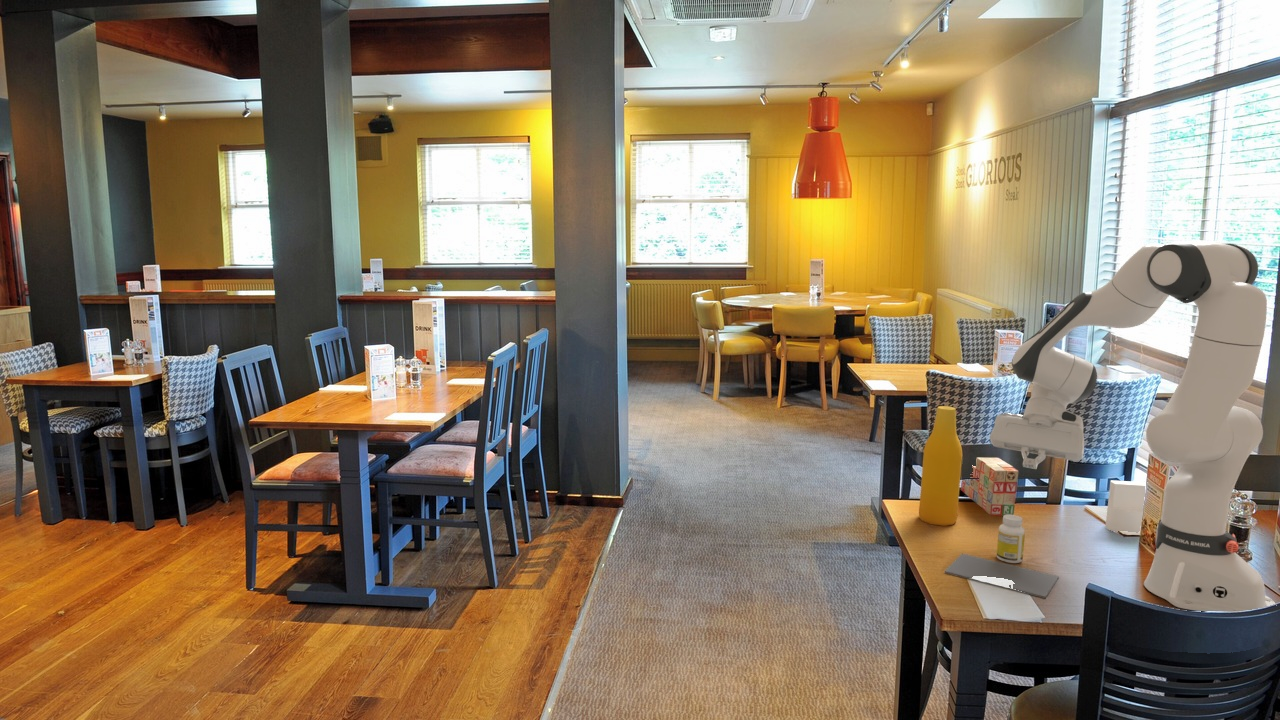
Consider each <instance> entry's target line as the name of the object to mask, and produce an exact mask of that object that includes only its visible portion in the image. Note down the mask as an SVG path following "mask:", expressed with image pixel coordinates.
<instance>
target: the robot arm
mask: <svg viewBox="0 0 1280 720" xmlns="http://www.w3.org/2000/svg"><path fill="white" fill-rule="evenodd" d="M1258 273H1259V264H1258V260H1257V258H1256V256H1255V255H1254V253H1252V252H1251V251H1250V250H1249V249H1247V248H1245V247H1243V246H1240V245H1237V244H1235V243H1222V242H1221V243H1220V242H1214V241H1209V240H1191V241H1186V240H1177V241H1172V242H1169V243H1166V244H1162V243H1149V244H1146V245H1144V246H1142V247H1141V248H1139V249H1138V250H1137V251H1136V252H1135V253H1133V254H1132V256H1130V257H1129V259H1127V261H1126V262H1125V263H1123V265H1122V266H1121V267H1120V268H1119V269H1118V271H1117V272H1116V273H1115V274H1114V275H1113V277H1112V278H1111V279H1110V280H1109V281H1108V282H1107V283H1106V284H1104V285H1103V286H1101V287H1099V288H1097V289H1095V290H1093V291H1086V292H1085V291H1084V292H1081V293H1079V294H1078V295H1077V296H1076V297H1074V298H1073V299H1072V300H1071V301H1070V302H1068V303H1067V304H1066V305H1065V306H1064V307H1063V308H1062V309H1060V310H1059V311H1058V312H1057V313H1056V315H1054V316H1053V317H1052V318H1051V319H1050V320H1049V321H1048V322H1047V323H1045V324H1044V325H1043V326H1042V327H1041V328H1040V329H1039V330H1038V331H1037V332H1036V333H1035V334H1033V335H1032V336H1030V338H1028V339H1026V340H1025V341H1024V342H1023V343H1021V345H1020V346H1019V347H1018V348H1017V349H1016V351H1015V352H1014V354H1013V356H1012V360H1011V366H1012V370H1013V371H1014V373H1015V376H1016V377H1017V378H1018V379H1020V380H1023V381H1026V382H1028V383H1031V384H1032V383H1033V384H1032V385H1031V390H1030V394H1031V395H1030V398H1029V399H1028V400H1027V402H1026V405H1025V408H1024V412H1023V414H1017V413H1009V412H1003V413H1000V414H998V415H997V416H996V417H995V420H994V426H993V428H992V430H991V432H990V436H989V437H990V438H989V439H990V442H991V444H992V445H993V447H995V448H1001V449H1007V450H1011V451H1018V452H1021V456H1022V459H1023V460H1022V467H1023V468H1026V469H1027V468H1028V469H1031V470H1032V469H1033V470H1037V468H1038V465H1040V463H1042V462H1043V461H1044V460H1046V457H1050V458H1057V459H1060V460H1061V459H1063V460H1068V461H1073V462H1079V461H1080V460H1082V459H1083V458H1084V453H1085V434H1084V429H1085V428H1084V422H1083V421H1084V420H1083V418H1082V416H1081V415H1079V414H1076V413H1073V412H1072V411H1069V410H1067V406H1068V405H1069V404H1071V405H1072V404H1075V403H1078V402H1080V401H1083V400H1086V399H1088V398H1089V397H1090V396H1091V394H1092V393H1093V391H1094V389H1095V387H1096V384H1097V382H1098V381H1097V380H1098V372H1097V369H1096V366H1095V365H1094V364H1093V363H1092V362H1090V361H1088V360H1087V359H1084V358H1082V357H1079V356H1077V355H1075V354H1072V353H1069V352H1067V351H1065V350H1063V349H1060V348H1058V347H1055V345H1058V343H1059V342H1060V341H1061V340H1063V339H1064V338H1065V337H1066V336H1067V335H1068V334H1069V333H1070V332H1071V331H1072V330H1075V329H1076V328H1077V329H1078V328H1080V327H1085V326H1086V327H1088V326H1093V327H1094V326H1096V327H1107V328H1112V329H1113V328H1114V329H1128V328H1134V327H1138V326H1141V325H1143V324H1144V323H1146V322H1147V321H1149V320H1150V319H1151V318H1152V316H1154V314H1156V312H1157V311H1158V310H1159V308H1161V307H1162V305H1163V304H1164V302H1165V301H1166V300H1167V299H1168V298H1169V297H1170V296H1171V297H1172V298H1174V299H1176V300H1178V301H1179V302H1181V303H1183V304H1189V303H1194V304H1195V305H1196V307H1197V310H1198V315H1197V323H1196V326H1195V329H1194V334H1193V338H1192V342H1191V347H1190V350H1189V355H1188V357H1187V362H1186V367H1185V369H1184V372H1183V374H1182V376H1181V379H1180V380H1179V383H1178V384H1177V387H1176V389H1175V390H1174V392H1173V394H1172V395H1171V397H1170V399H1169V400H1168V402H1167V403H1166V404H1165V407H1164V408H1163V409H1162V410H1161V411H1160V412H1159V413H1157V414H1156V416H1155V417H1153V418H1152V419H1151V420H1150V422H1149V424H1148V425H1147V427H1146V433H1145V437H1146V443H1147V445H1148V447H1149V449H1150V451H1151V452H1152V453H1153V454H1154V455H1155V456H1156V457H1157V458H1159V459H1161V460H1163V461H1166V462H1170V463H1175V464H1180V465H1179V466H1178V468H1177V470H1176V472H1175V473H1174V474H1173V475H1172V477H1170V479H1169V480H1168V481H1167V482H1166V484H1165V488H1164V495H1163V503H1162V509H1161V510H1162V511H1161V519H1159V521H1158V523H1157V526H1156V532H1155V533H1156V534H1155V541H1154V542H1155V548H1156V549H1155V553H1154V555H1153V556H1154V557H1153V561H1152V563H1151V566H1150V570H1149V571H1148V574H1147V576H1146V578H1145V580H1144V582H1143V585H1144V588H1146V589H1147V590H1148V591H1149V592H1151V593H1152V594H1153V595H1155V596H1158V597H1159V598H1162V599H1164V600H1166V601H1167V602H1169V603H1170V604H1171V605H1173V606H1174V607H1177V608H1179V609H1184V610H1190V611H1194V612H1195V611H1197V612H1200V611H1243V610H1252V609H1258V608H1263V607H1266V606H1270V605H1273V604H1276V602H1275V601H1274V600H1273V599H1272V598H1271V597H1269V596H1268V595H1266V588H1265V583H1264V579H1263V578H1262V576H1261V573H1259V572H1258V571H1257V570H1256V569H1255V568H1254V567H1252V565H1251V564H1249V563H1248V562H1247V561H1246V560H1245V559H1243V558H1242V557H1241V556H1240V555H1239V554H1238V553H1237V552H1239V546H1240V545H1239V543H1238V542H1237V538H1236V535H1235V534H1234V533H1232V534H1231V533H1230V532H1228V531H1227V525H1228V524H1227V523H1228V516H1229V509H1230V505H1231V499H1232V495H1233V491H1234V489H1235V486H1236V484H1237V481H1238V479H1239V476H1240V475H1241V472H1242V470H1243V467H1244V465H1245V463H1246V462H1247V460H1248V458H1249V457H1250V455H1251V454H1252V453H1253V451H1254V450H1255V449H1256V448H1257V447H1259V445H1260V444H1261V442H1262V440H1263V436H1264V429H1263V424H1262V422H1261V420H1260V419H1259V417H1258V416H1257V415H1256V414H1255V413H1254V412H1253V411H1251V410H1250V409H1247V408H1244V407H1240V406H1236V405H1235V404H1236V402H1237V401H1238V400H1239V398H1240V397H1241V395H1243V393H1244V392H1245V391H1247V390H1248V389H1249V387H1250V386H1251V385H1252V384H1253V381H1254V377H1255V374H1256V369H1257V364H1258V360H1259V357H1260V353H1261V349H1262V347H1263V345H1262V344H1263V340H1264V337H1265V330H1266V323H1267V304H1268V303H1267V301H1268V300H1267V296H1266V294H1265V292H1263V291H1262V290H1261V289H1260V288H1258V287H1257V286H1256V285H1253V284H1254V283H1255V281H1256V279H1257V277H1258ZM1029 454H1034V455H1038V456H1036V457H1035V458H1031V457H1030V458H1029V457H1028V456H1029Z"/></svg>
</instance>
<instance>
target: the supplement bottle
mask: <svg viewBox="0 0 1280 720" xmlns="http://www.w3.org/2000/svg"><path fill="white" fill-rule="evenodd" d="M1002 516H1003V517H1002V523H1001V524H1000V525H999V526H998V532H997V547H996V558H997V559H998V560H1000V561H1002V562H1003V563H1007V564H1008V563H1009V564H1019V563H1021V562H1023V560H1024V559H1023V558H1024V549H1025V548H1024V547H1025V538H1026V530H1025V528H1024V527H1023V526H1022V525H1023V519H1024V518H1023V517H1021V516H1020V515H1016V514H1014V515H1010V514H1007V515H1002Z"/></svg>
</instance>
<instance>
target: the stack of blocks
mask: <svg viewBox="0 0 1280 720" xmlns="http://www.w3.org/2000/svg"><path fill="white" fill-rule="evenodd" d="M975 458H976V466H973V465H972V468H973V472H972V473H973V474H970V475H973V477H970V478H979V479H965V480H962V479H961V482H960V490H961V491H962V492H963V494H965V495H966V496H967V497H969V499H970V500H972V501H973V502H975V503H976V504H977V505H978V506H980V507H981V509H983V510H984V511H985V512H986V513H987V514H989V515H991V516H1004V515H1007V514H1010V515H1015V506H1016V505H1015V503H1016V496H1017V495H1016V494H1017V488H1018V478H1019V470H1018V469H1016V468H1015V467H1014V466H1013V465H1012V464H1009V463H1007V462H1006V461H1004V460H1002V459H1001V458H1000V457H975Z"/></svg>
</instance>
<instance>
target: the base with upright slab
mask: <svg viewBox="0 0 1280 720" xmlns="http://www.w3.org/2000/svg"><path fill="white" fill-rule="evenodd" d="M1145 486H1146V482H1145V481H1144V482H1143V481H1129V480H1127V481H1126V480H1110V484H1109V490H1108V491H1109V492H1108V500H1107V502H1108V503H1107V509H1106V518H1105V526H1104V527H1105V528H1106V529H1107V530H1108V529H1109V530H1108V531H1110V530H1111V531H1110V532H1112V531H1116V532H1118V531H1128V532H1136V533H1138V532H1139V531H1140V526H1141V520H1142V515H1143V504H1144V497H1145Z"/></svg>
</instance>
